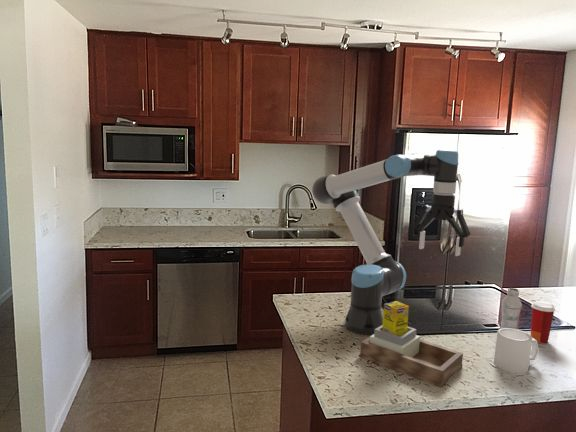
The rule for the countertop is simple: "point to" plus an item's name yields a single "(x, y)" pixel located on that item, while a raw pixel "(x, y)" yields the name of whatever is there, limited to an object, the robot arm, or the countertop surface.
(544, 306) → the paper cup
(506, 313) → the plastic bottle
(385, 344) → the stepped square pedestal
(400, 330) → the supplement box
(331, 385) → the countertop surface
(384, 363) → the tray
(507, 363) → the mug
